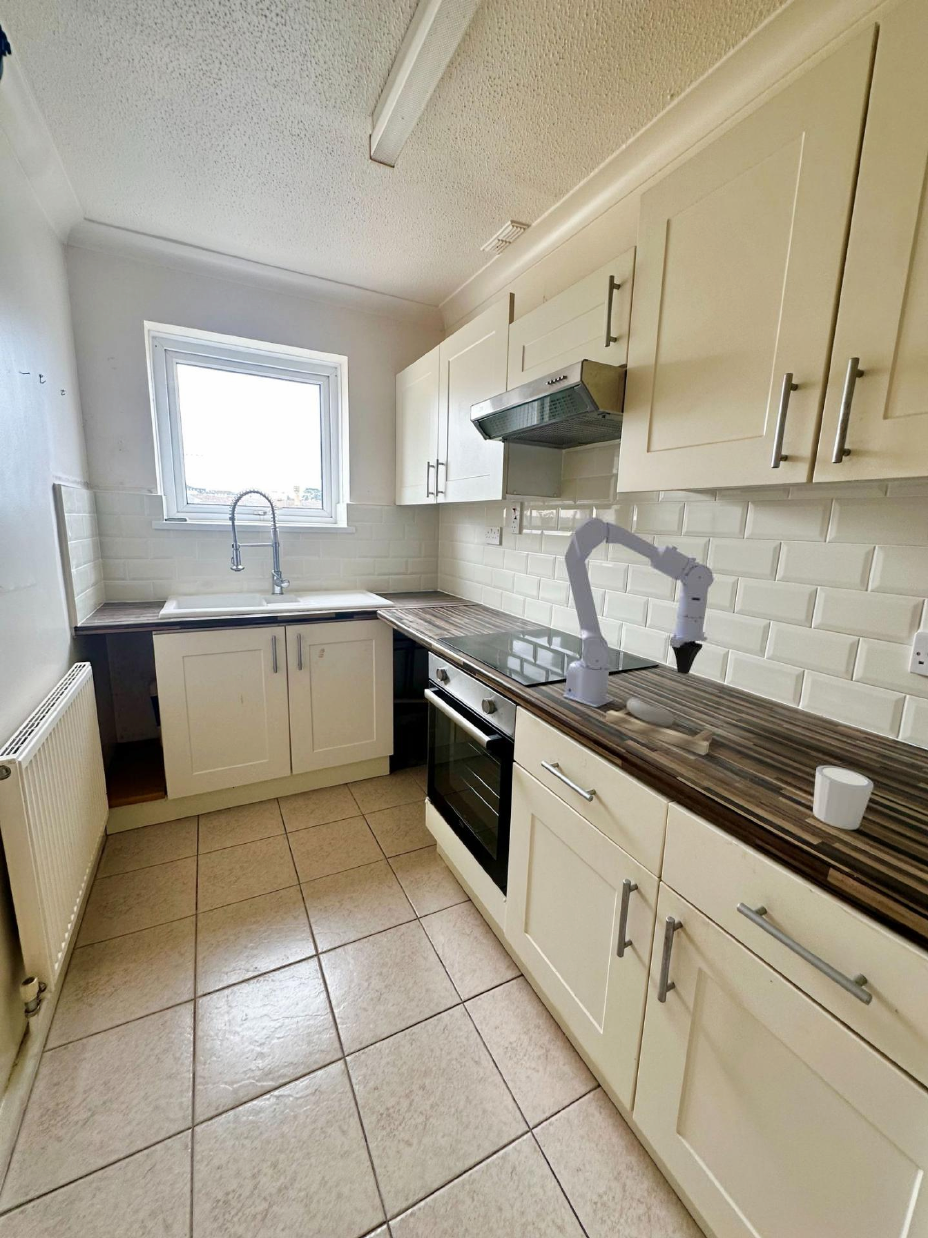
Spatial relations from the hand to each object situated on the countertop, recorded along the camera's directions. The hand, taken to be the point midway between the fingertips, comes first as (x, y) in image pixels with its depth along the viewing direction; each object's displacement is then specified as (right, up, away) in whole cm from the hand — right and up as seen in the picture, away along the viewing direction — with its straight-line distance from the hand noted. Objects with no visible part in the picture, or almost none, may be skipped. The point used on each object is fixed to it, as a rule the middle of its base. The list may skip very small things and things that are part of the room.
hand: (683, 672), depth 115 cm
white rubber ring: (-6, -9, -7) cm, 13 cm away
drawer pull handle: (-10, -11, -11) cm, 19 cm away
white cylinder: (+5, -18, -41) cm, 45 cm away
